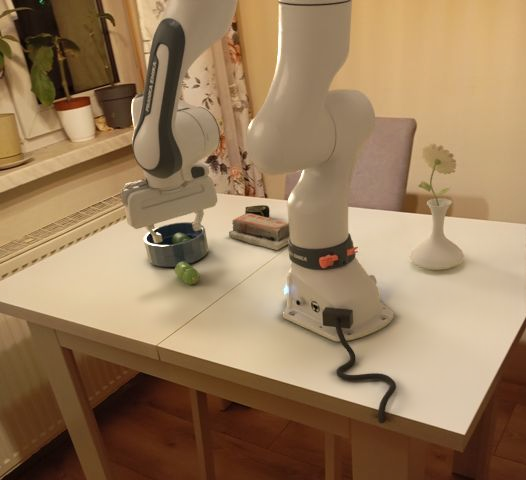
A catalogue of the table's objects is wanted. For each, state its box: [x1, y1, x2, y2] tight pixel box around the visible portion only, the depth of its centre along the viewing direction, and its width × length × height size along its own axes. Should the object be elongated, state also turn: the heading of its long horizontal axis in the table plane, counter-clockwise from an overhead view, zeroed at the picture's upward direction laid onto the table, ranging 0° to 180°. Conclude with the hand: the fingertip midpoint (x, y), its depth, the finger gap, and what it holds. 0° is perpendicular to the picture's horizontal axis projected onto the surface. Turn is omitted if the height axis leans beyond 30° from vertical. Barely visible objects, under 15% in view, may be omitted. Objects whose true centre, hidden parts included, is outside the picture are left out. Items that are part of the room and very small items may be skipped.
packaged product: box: [228, 213, 290, 251], centre depth 147 cm, size 18×5×10 cm
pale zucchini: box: [174, 262, 200, 285], centre depth 131 cm, size 9×4×4 cm, turn 30°
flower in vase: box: [408, 143, 465, 271], centre depth 119 cm, size 13×11×25 cm
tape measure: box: [244, 204, 271, 218], centre depth 158 cm, size 7×7×4 cm
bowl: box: [143, 221, 209, 268], centre depth 143 cm, size 15×15×6 cm
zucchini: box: [172, 233, 192, 244], centre depth 144 cm, size 10×4×4 cm, turn 30°
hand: (178, 235), depth 126 cm, fingers open, 8 cm apart
